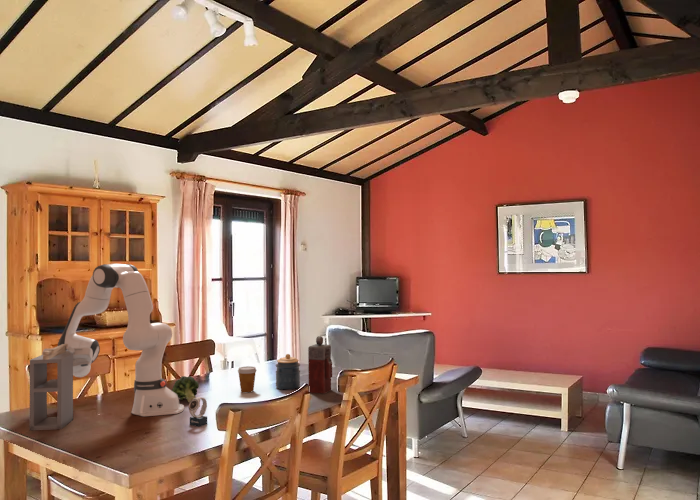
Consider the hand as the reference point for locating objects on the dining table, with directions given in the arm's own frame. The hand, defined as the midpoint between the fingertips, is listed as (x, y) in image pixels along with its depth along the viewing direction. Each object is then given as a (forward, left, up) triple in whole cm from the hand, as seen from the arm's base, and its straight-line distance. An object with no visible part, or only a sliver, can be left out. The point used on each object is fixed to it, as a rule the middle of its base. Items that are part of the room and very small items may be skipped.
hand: (62, 347), depth 252 cm
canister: (-98, -43, -30) cm, 111 cm away
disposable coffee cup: (-77, -37, -30) cm, 91 cm away
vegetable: (-49, -23, -30) cm, 62 cm away
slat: (0, +8, -2) cm, 8 cm away
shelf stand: (0, +10, -30) cm, 31 cm away
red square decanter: (-115, -31, -30) cm, 123 cm away
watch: (-60, +21, -30) cm, 70 cm away
